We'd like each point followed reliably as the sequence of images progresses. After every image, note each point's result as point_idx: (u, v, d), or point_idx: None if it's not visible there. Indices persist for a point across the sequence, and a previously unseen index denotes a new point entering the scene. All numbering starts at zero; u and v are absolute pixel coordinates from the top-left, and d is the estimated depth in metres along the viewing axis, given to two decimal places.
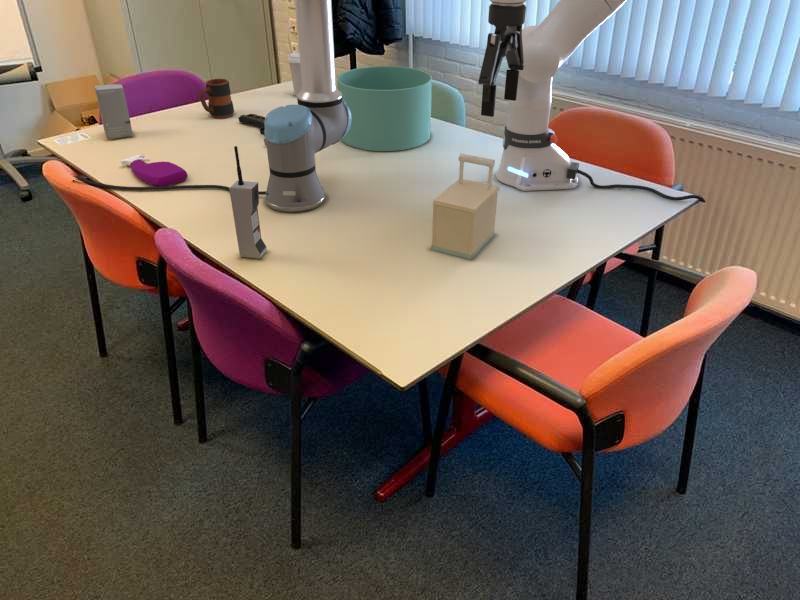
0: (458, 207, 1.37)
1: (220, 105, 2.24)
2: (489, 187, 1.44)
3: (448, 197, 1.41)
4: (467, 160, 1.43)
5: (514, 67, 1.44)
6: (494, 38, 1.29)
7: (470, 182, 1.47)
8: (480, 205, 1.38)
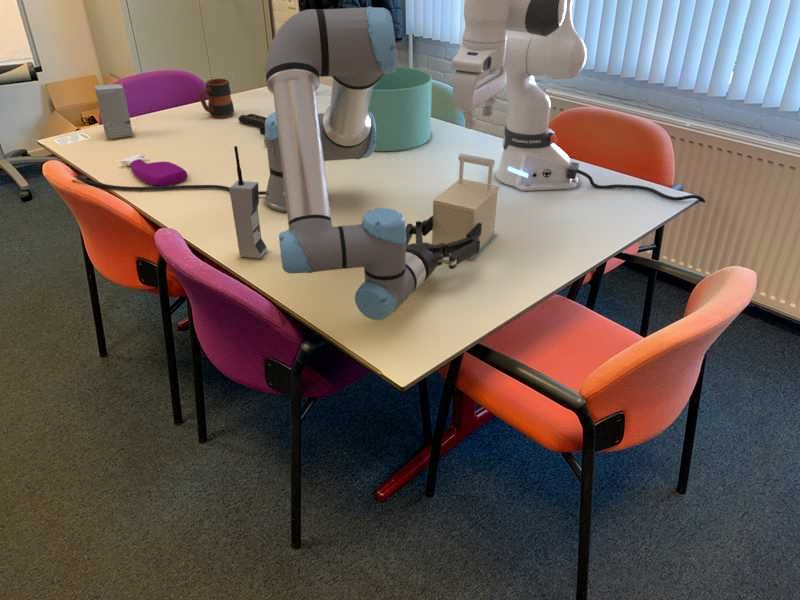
0: (458, 207, 1.37)
1: (220, 105, 2.24)
2: (489, 187, 1.44)
3: (448, 197, 1.41)
4: (467, 160, 1.43)
5: None
6: None
7: (469, 183, 1.47)
8: (480, 205, 1.38)
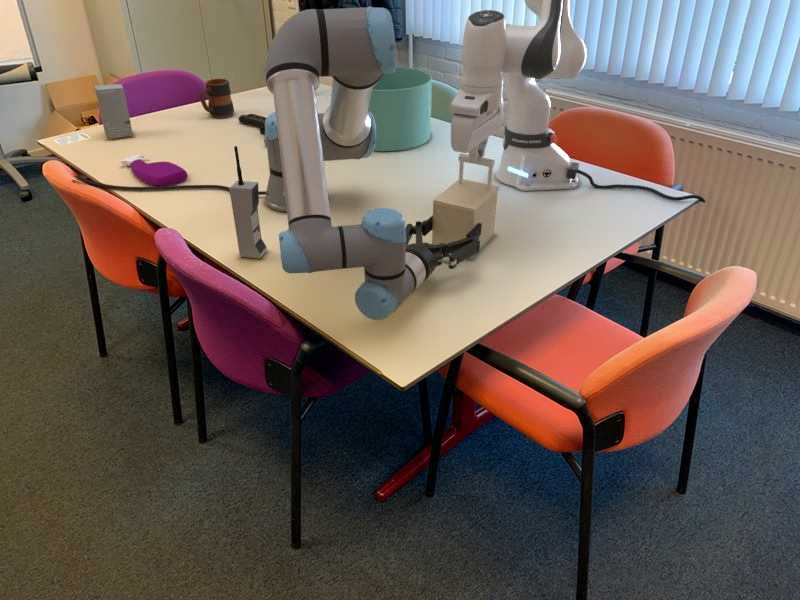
0: (458, 207, 1.37)
1: (220, 105, 2.24)
2: (489, 187, 1.44)
3: (447, 197, 1.41)
4: (467, 160, 1.43)
5: None
6: None
7: (469, 183, 1.47)
8: (480, 205, 1.38)
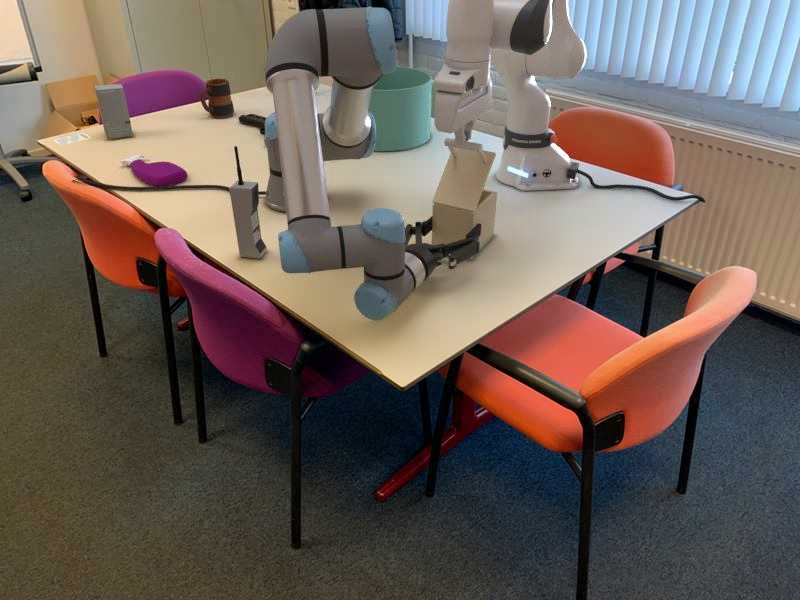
0: (457, 208, 1.37)
1: (220, 105, 2.24)
2: (484, 162, 1.37)
3: (445, 192, 1.39)
4: (454, 147, 1.34)
5: None
6: None
7: (464, 153, 1.40)
8: (479, 198, 1.36)
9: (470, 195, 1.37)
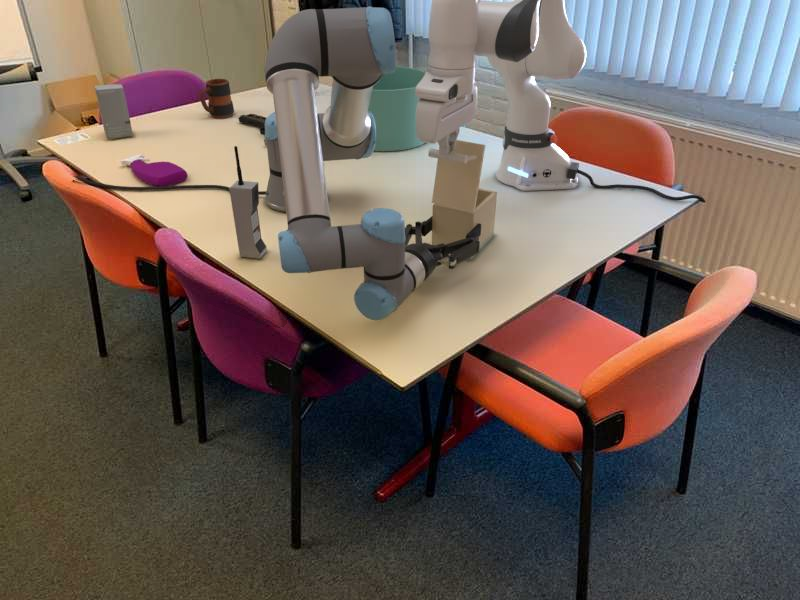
0: None
1: (220, 105, 2.24)
2: (475, 158, 1.31)
3: (443, 192, 1.37)
4: None
5: None
6: None
7: None
8: (476, 196, 1.34)
9: (467, 195, 1.35)
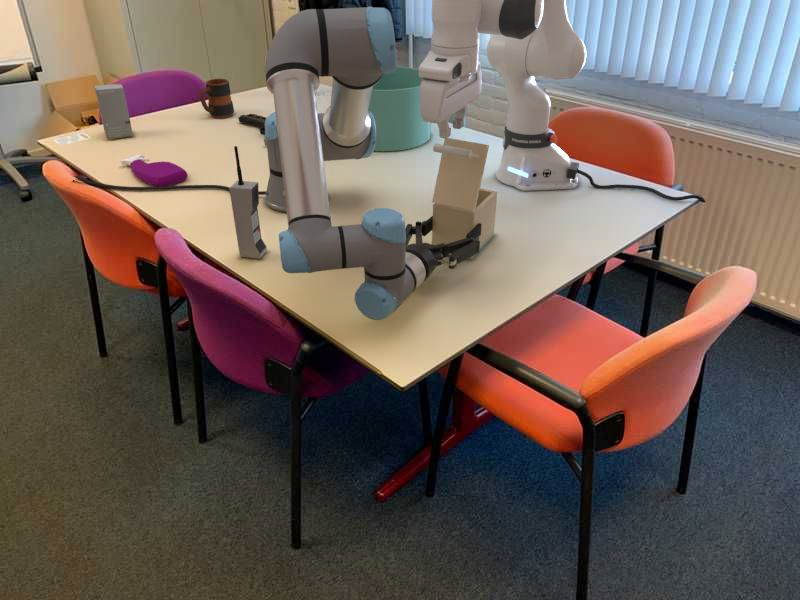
0: None
1: (220, 105, 2.24)
2: (478, 157, 1.33)
3: (444, 192, 1.38)
4: (443, 153, 1.30)
5: None
6: None
7: (457, 146, 1.35)
8: (477, 196, 1.35)
9: (468, 194, 1.35)
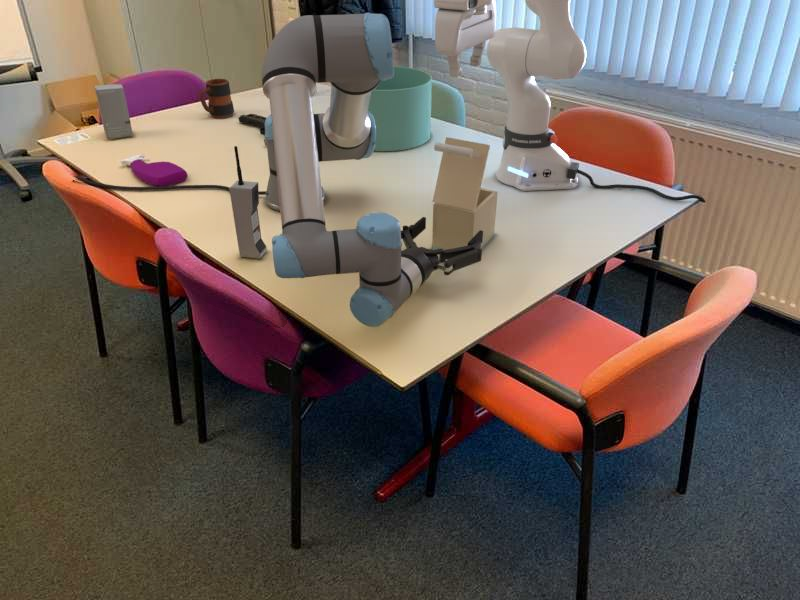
0: (458, 207, 1.37)
1: (220, 105, 2.24)
2: (479, 157, 1.33)
3: (444, 191, 1.38)
4: (444, 152, 1.31)
5: None
6: None
7: (458, 146, 1.36)
8: (477, 196, 1.35)
9: (469, 194, 1.36)
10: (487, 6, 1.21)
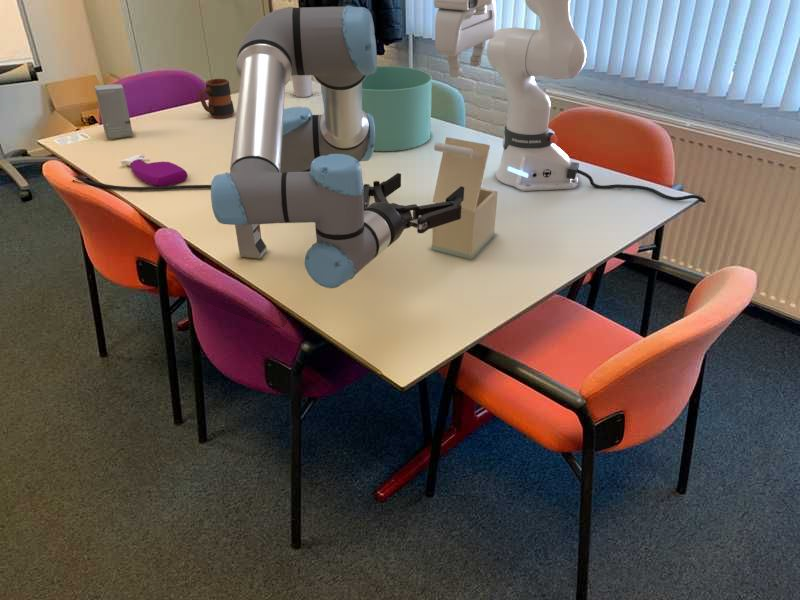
0: None
1: (220, 105, 2.24)
2: (479, 157, 1.33)
3: (444, 191, 1.38)
4: (444, 152, 1.31)
5: None
6: None
7: (458, 146, 1.36)
8: (477, 196, 1.35)
9: (469, 194, 1.36)
10: (487, 6, 1.21)
